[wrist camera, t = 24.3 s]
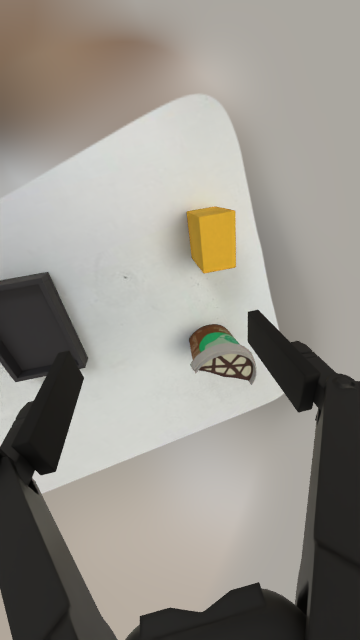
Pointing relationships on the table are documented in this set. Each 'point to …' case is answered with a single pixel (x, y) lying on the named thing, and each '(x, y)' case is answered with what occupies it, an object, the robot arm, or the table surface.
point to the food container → (221, 354)
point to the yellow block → (212, 238)
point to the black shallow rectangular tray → (34, 327)
